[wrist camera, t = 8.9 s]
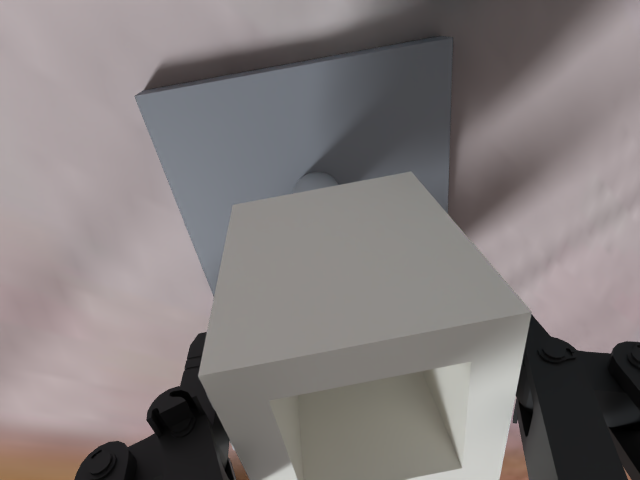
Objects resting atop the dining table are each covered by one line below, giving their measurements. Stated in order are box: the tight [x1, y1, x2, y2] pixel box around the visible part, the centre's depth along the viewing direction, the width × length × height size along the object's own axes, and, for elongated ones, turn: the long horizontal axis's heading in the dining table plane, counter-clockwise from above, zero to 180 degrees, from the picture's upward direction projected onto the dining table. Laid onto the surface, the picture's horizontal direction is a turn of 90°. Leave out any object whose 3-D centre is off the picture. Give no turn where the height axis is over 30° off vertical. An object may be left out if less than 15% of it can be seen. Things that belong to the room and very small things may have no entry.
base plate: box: [135, 36, 453, 296], centre depth 22 cm, size 26×16×12 cm, turn 9°
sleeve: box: [198, 172, 532, 480], centre depth 13 cm, size 7×7×8 cm
